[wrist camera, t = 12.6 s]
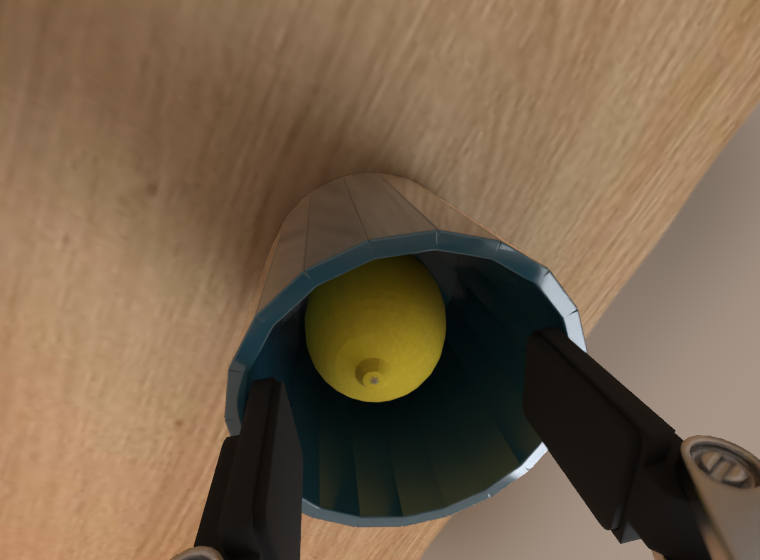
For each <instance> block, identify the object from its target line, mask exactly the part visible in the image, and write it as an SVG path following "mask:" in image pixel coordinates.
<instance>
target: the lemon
mask: <svg viewBox="0 0 760 560" xmlns="http://www.w3.org/2000/svg"><path fill="white" fill-rule="evenodd" d="M305 333H306V344H307V348H308V351H309V354H310V356H311V359H312V362H313V364H314V366H315V368H316V369H317V371H318V372H319V373H320V375H321V376H322V378H323V379H324V380H325V381H326V382H327V383H328V384H329V385H330V386H332V387H333V388H334V389H335V390H337V391H338V392H340V393H342V394H344V395H346V396H348V397H350V398H353V399H357V400H361V401H366V402H383V401H390V400H393V399H396V398H399V397H402V396H404V395H407V394H408V393H410V392H411V391H413V390H415V389H416V388H418V387H419V386H420V385H421V384H422V383H423V382H424V381H425V380H426V379H427V378H428V377H429V376H430V375H431V373H432V371H433V369H434V368H435V366H436V364H437V362H438V360H439V358H440V356H441V352H442V348H443V344H444V340H445V334H446V316H445V305H444V301H443V298H442V295H441V293H440V290H439V287H438V284H437V282H436V281H435V279H434V278H433V277H432V275H431V274H430V272H429V271H428V270H427V268H426V267H425V266H424V265H423V264H422V263H421V262H419V261H418V260H417V259H416V258H414V257H413V256H412V255H411V254H407V255H401V256H394V257H387V258H381V259H374V260H372V261H370V262H368V263H365V264H363V265H361V266H359V267H357V268H355V269H353V270H351V271H348V272H346V273H344V274H342V275H340V276H338V277H336V278H334V279H331V280H329V281H327V282H325V283H323V284H321V285H319V286H317V287H316V288H315V289H314V290H313V291H312V292H311V293H310V294H309V298H308V303H307V308H306V313H305Z"/></svg>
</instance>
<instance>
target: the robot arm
mask: <svg viewBox="0 0 760 560" xmlns="http://www.w3.org/2000/svg"><path fill="white" fill-rule="evenodd" d="M522 409H523V413H524V415H525V417H526V419H527V421H528V422H529V423H530V425H531V426H532V428H533V429H534V431H535V432H536V433H537V435H538V436H539V438H540V439H541V441H542V442H543V443H544V445H545V446H546V448H547V449H548V451H549V452H550V453H551V455H552V456H553V458H554V459H555V460H556V462H557V463H558V465H559V466H560V468H561V469H562V471H563V472H564V473H565V475H566V476H567V478H568V479H569V481H570V482H571V483H572V485H573V486H574V488H575V489H576V490H577V492H578V493H579V495H580V496H581V498H582V499H583V500H584V502H585V503H586V505H587V506H588V507H589V509H590V510H591V512H592V513H593V515H594V516H595V518H596V519H597V520H598V522H599V523H600V524H601V526H602V527H604V529H606V530H611V531H612V532H613V534H614V536H615V537H616V538H617V540H618V541H619V542H620V544H622V543H625V542H629V541H634V540H638V539H642V540H643V542H644V543H645V544H646V546H647V547H648V548H649V549H651V550H652V553H653V556H654V559H655V560H760V460H759V459H758V458H757V457H756V456H754V455H753V454H752V453H750V452H749V451H747V450H745V449H744V448H742V447H740V446H738V445H736V444H734V443H731V442H729V441H726V440H724V439H721V438H716V437H712V436H701V435H697V436H692V437H689V438H687V439H686V440H684V441H683V440H682V439H681V438H680V437H678V435H677V434H675V430H674V429H673V428H672V427H671V426H669V425H668V424H667V423H666V422H665V421H664V420H663V419H662V418H660V417H659V416H658V415H657V414H656V413H655V412H653V411H652V410H651V409H650V408H649V407H648V406H646V405H645V404H644V403H643V402H642V401H641V400H640V399H639V398H637V397H636V396H635V395H634V394H633V393H632V392H631V391H629V390H628V389H627V388H626V387H625V386H624V385H622V384H621V383H620V382H619V381H618V380H617V379H616V378H614V377H613V376H612V375H611V374H610V373H609V372H608V371H606V370H605V369H604V368H603V367H602V366H601V365H599V364H598V363H597V362H596V361H595V360H594V359H592V358H591V357H590V356H589V355H588V354H587V353H586V352H585V351H583V350H582V349H581V348H580V347H579V346H578V345H576V344H575V343H574V342H573V341H572V340H571V339H570V338H568V337H567V336H566V335H565V334H564V333H563V332H562V331H560V330H559V329H558V328H557V327H554V326H552V327H546V328H541V329H535V330H534V331H533V332H532V335H530V336H529V337H528V339H527V349H526V362H525V375H524V388H523V401H522ZM302 486H303V454H302V449H301V445H300V441H299V438H298V434H297V430H296V426H295V423H294V419H293V415H292V411H291V407H290V404H289V400H288V396H287V392H286V388H285V385H284V382H283V381H278V382H277V381H276V379H275V377H270V378H264V379H259V380H254V381H253V382H252V385H251V389H250V393H249V397H248V401H247V405H246V409H245V414H244V418H243V422H242V426H241V430H240V434H239V435H235V436H230V437H227V438H226V439H225V440H224V442H223V445H222V448H221V452H220V455H219V459H218V462H217V466H216V469H215V473H214V476H213V480H212V483H211V487H210V490H209V494H208V498H207V501H206V505H205V508H204V512H203V515H202V519H201V522H200V526H199V529H198V533H197V536H196V540H195V543H194V547H193V548H189V549H187V550H185V551H183V552H181V553H179V554H177V555H175V556H174V557H173V558H171V559H170V560H300V541H301V513H302Z"/></svg>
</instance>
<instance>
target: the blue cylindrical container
mask: <svg viewBox="0 0 760 560" xmlns="http://www.w3.org/2000/svg"><path fill="white" fill-rule="evenodd" d="M407 254H411V255H412V256H413V257H414V258H416V259H417V260H418V261H419V262H421V263H422V264H423V265H424V266H425V267H426V268H427V270H428V271H429V272H430V274H431V275H432V277H433V278H434V279H435V281H436V282H437V284H438V287H439V290H440V293H441V295H442V298H443V301H444V305H445V316H446V334H445V340H444V344H443V348H442V352H441V356H440V358H439V360H438V362H437V364H436V366H435V368H434V369H433V371H432V373H431V375H430V376H429V377H428V378H427V379H426V380H425V381H424V382H423V383H422V384H421V385H420V386H419V387H418V388H416V389H415V390H413V391H411V392H410V393H408V394H407V395H404V396H402V397H399V398H396V399H393V400H390V401H383V402H366V401H361V400H357V399H353V398H350V397H348V396H346V395H344V394H342V393H340V392H338V391H337V390H335V389H334V388H333V387H332V386H330V385H329V384H328V383H327V382H326V381H325V380H324V379H323V378H322V376H321V375H320V373H319V372H318V371H317V369H316V368H315V366H314V364H313V362H312V359H311V356H310V354H309V351H308V348H307V344H306V333H305V313H306V308H307V303H308V298H309V294H310V293H311V292H312V291H313V290H314V289H315V288H316V287H317V286H319V285H321V284H323V283H325V282H327V281H329V280H331V279H334V278H336V277H338V276H340V275H342V274H344V273H346V272H348V271H351V270H353V269H355V268H357V267H359V266H361V265H363V264H365V263H368V262H370V261H372V260H374V259H381V258H387V257H394V256H401V255H407ZM552 326H554V327H557V328H558V329H559V330H560V331H562V332H563V333H564V334H565V335H566V336H567V337H568V338H570V339H571V340H572V341H573V342H574V343H575V344H576V345H578V346H579V347H580V348H581V349H582V350H583V351H585V352H586V353H587V348H586V343H585V338H584V334H583V329H582V325H581V320H580V316H579V311H578V309H577V306H576V305H575V304H574V302H573V301H572V300H571V298H570V297H569V295H568V294H567V293H566V291H565V290H564V289H563V287H562V286H561V284H560V283H559V282H558V280H557V279H556V278H555V276H554V275H553V274H552V272H551V271H550V270H549V269H548V268H547V267H546V266H544V265H543V264H541V263H539V262H538V261H536V260H535V259H533V258H532V257H530V256H529V255H527V254H526V253H524V252H523V251H521V250H520V249H518V248H517V247H515V246H513V245H512V244H510V243H509V242H507V241H506V240H504V239H503V238H501V237H500V236H498V235H497V234H495V233H494V232H492V231H491V230H489V229H488V228H486V227H484V226H483V225H481V224H480V223H478V222H477V221H475V220H474V219H472V218H471V217H469V216H468V215H466V214H465V213H463V212H462V211H460V210H459V209H457V208H455V207H454V206H452V205H451V204H449V203H448V202H446V201H445V200H443V199H442V198H440V197H439V196H437V195H435V194H434V193H432V192H430V191H429V190H427V189H425V188H424V187H422V186H420V185H419V184H417V183H415V182H414V181H412V180H410V179H405V178H403V177H400V176H395V175H391V174H385V173H358V174H353V175H348V176H344V177H341V178H338V179H335V180H332V181H330V182H328V183H326V184H324V185H322V186H320V187H318V188H317V189H315V190H314V191H312V192H311V193H309V194H308V195H307V196H305V197H304V198H303V199H302V200H301V201H300V202H299V203H298V204H297V205H296V206H295V207H294V208H293V210H292V211H291V212H290V213H289V214H288V216H287V217H286V218H285V220H284V222H283V224H282V225H281V228H280V230H279V232H278V234H277V237H276V239H275V241H274V243H273V245H272V247H271V250H270V253H269V256H268V258H267V261H266V264H265V267H264V270H263V272H262V275H261V278H260V281H259V283H258V286H257V289H256V292H255V295H254V297H253V300H252V303H251V306H250V309H249V311H248V314H247V317H246V320H245V322H244V325H243V328H242V331H241V334H240V336H239V339H238V342H237V345H236V348H235V350H234V353H233V356H232V359H231V362H230V364H229V368H228V375H227V388H226V401H225V415H224V417H225V422H226V425H227V428H228V430H229V433H230V436H235V435H239V434H240V430H241V426H242V422H243V418H244V414H245V409H246V405H247V401H248V397H249V393H250V389H251V385H252V382H253V381H254V380H259V379H264V378H270V377H275V379H276V381H277V382H278V381H283V382H284V385H285V388H286V392H287V396H288V400H289V404H290V407H291V411H292V415H293V419H294V423H295V426H296V430H297V434H298V438H299V441H300V445H301V449H302V454H303V486H302V513H303V514H305V515H307V516H309V517H312V518H316V519H320V520H325V521H329V522H334V523H338V524H343V525H347V526H352V527H355V526H356V527H401V526H408V525H412V524H417V523H421V522H426V521H430V520H435V519H439V518H444V517H447V516H451V515H453V514H455V513H457V512H460V511H462V510H464V509H466V508H468V507H471V506H473V505H476V504H478V503H480V502H482V501H485V500H487V499H489V498H491V497H493V496H494V495H496V494H497V493H498V492H500V491H501V490H503V489H504V488H506V487H507V486H508V485H510V484H511V483H513V482H514V481H515V480H517V479H518V478H520V477H521V476H522V475H524V474H525V473H527V472H528V471H529V470H530V469H531V468H532V467H533V466H534V465H535V464H536V463H537V462H538V460H539V459H540V458H541V457H542V456H543V455H544V454H545V452H546V451H547V450H548V449H547V448H546V446H545V445H544V443H543V442H542V441H541V439H540V438H539V436H538V435H537V433H536V432H535V431H534V429H533V428H532V426H531V425H530V423H529V422H528V421H527V419H526V417H525V415H524V413H523V409H522V401H523V388H524V375H525V362H526V349H527V339H528V337H529V336H530V335H532V332H533V331H534V330H535V329H541V328H546V327H552Z"/></svg>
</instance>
